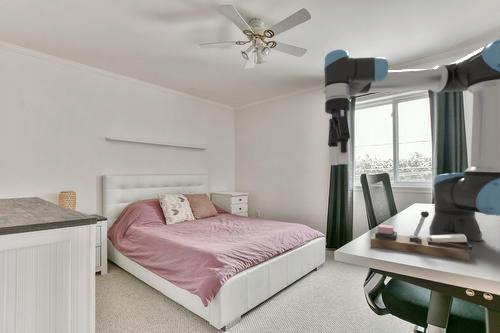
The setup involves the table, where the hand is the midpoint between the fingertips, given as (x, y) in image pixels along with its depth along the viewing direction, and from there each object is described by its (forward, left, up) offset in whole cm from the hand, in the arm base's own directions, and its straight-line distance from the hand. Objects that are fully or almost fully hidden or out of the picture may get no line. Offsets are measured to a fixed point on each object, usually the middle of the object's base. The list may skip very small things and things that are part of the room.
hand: (338, 164), depth 82 cm
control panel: (-23, +3, -26) cm, 35 cm away
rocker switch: (-29, +7, -22) cm, 37 cm away
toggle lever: (-23, +3, -22) cm, 32 cm away
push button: (-16, -1, -22) cm, 27 cm away
